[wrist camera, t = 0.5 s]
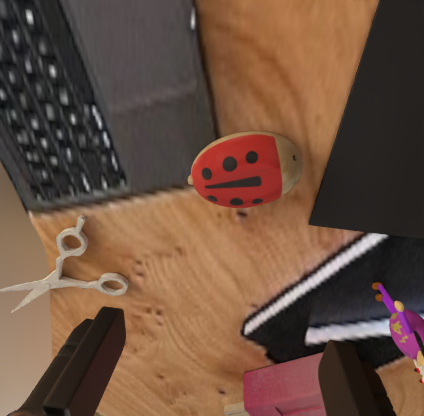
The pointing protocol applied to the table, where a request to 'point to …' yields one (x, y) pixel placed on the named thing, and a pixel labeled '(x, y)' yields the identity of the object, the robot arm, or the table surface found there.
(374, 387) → the robot arm
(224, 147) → the ladybug figurine
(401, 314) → the wizard figurine
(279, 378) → the popsicle
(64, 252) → the scissors
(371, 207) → the desk pad
